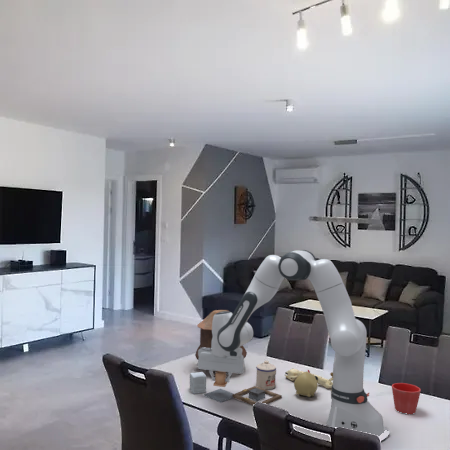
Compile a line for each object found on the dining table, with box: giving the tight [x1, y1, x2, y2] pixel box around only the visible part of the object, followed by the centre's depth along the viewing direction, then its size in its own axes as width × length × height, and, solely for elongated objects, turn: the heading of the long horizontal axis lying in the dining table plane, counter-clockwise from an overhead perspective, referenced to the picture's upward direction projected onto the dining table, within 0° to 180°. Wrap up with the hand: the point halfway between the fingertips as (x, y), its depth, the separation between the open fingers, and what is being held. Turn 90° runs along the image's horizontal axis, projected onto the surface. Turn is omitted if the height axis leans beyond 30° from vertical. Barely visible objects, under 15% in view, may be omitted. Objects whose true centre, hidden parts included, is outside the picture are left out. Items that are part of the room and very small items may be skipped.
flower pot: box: [391, 382, 421, 415], centre depth 191 cm, size 11×11×10 cm
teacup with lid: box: [255, 360, 277, 390], centre depth 215 cm, size 12×9×12 cm
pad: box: [203, 388, 234, 403], centre depth 201 cm, size 10×10×1 cm
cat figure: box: [284, 368, 333, 389], centre depth 219 cm, size 10×9×25 cm
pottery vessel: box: [194, 309, 248, 374], centre depth 234 cm, size 26×26×30 cm
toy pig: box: [293, 371, 319, 398], centre depth 204 cm, size 10×12×11 cm
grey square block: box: [248, 388, 266, 402], centre depth 200 cm, size 5×5×3 cm
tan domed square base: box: [213, 371, 228, 388], centre depth 201 cm, size 6×5×5 cm
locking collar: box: [232, 385, 283, 406], centre depth 200 cm, size 15×15×2 cm
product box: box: [189, 371, 207, 395], centre depth 206 cm, size 6×6×7 cm
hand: (220, 381), depth 201 cm, fingers closed on tan domed square base, 5 cm apart
